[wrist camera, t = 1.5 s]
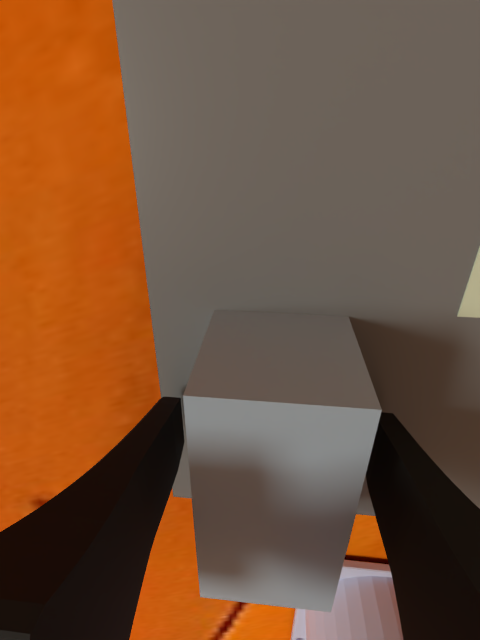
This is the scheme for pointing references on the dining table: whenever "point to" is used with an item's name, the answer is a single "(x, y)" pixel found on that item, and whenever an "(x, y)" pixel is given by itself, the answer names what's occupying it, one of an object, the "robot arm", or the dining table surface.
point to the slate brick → (277, 455)
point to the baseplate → (316, 189)
